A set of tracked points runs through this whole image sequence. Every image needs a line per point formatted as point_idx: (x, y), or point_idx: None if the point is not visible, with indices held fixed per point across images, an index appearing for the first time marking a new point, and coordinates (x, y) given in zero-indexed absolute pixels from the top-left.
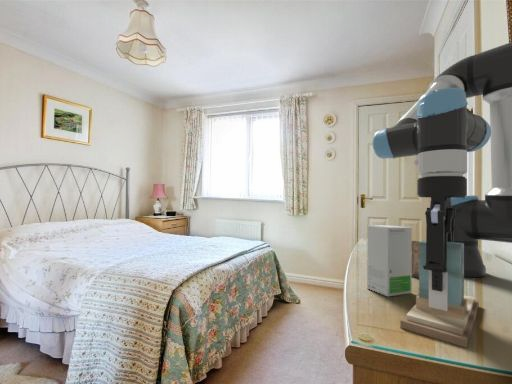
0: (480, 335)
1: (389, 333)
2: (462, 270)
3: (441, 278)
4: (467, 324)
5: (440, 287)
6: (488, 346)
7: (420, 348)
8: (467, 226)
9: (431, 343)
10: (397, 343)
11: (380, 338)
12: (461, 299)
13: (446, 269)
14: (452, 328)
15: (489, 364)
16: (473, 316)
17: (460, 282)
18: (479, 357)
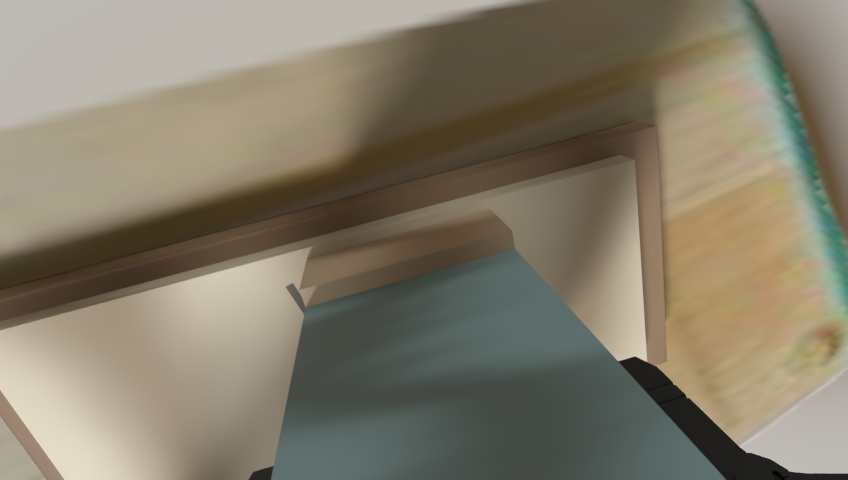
0: (440, 134)
1: (725, 335)
2: (406, 448)
3: (713, 424)
4: (463, 193)
5: (665, 378)
6: (541, 70)
7: (766, 219)
8: None
9: (696, 217)
10: (782, 279)
11: (785, 327)
12: (444, 281)
13: (764, 474)
14: (635, 197)
15: (718, 13)
16: (302, 221)
17: (557, 336)
18: (684, 59)
